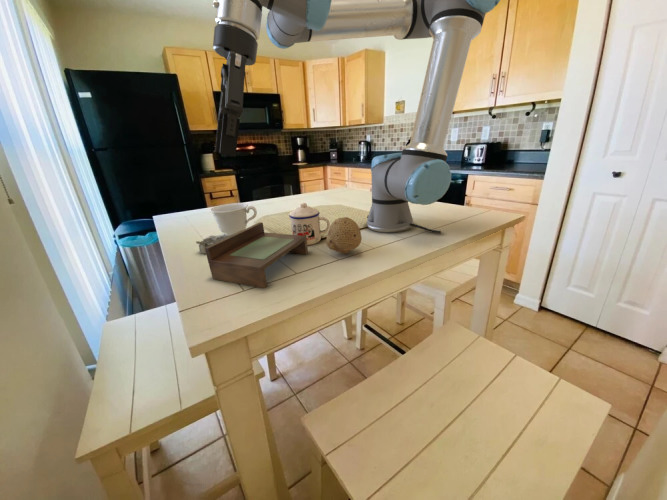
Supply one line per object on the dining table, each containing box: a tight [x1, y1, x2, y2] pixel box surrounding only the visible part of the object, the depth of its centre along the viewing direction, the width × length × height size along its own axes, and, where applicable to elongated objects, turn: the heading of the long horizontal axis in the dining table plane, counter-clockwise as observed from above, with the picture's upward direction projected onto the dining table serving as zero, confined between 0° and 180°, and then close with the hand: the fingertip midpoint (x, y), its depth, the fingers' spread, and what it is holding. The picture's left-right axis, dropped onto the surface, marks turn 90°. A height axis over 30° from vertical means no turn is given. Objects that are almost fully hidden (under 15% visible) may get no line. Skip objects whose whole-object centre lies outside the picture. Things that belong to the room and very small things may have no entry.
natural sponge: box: [325, 216, 362, 255], centre depth 71 cm, size 9×9×10 cm
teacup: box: [209, 202, 258, 235], centre depth 92 cm, size 12×15×10 cm
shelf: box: [205, 221, 309, 289], centre depth 68 cm, size 15×20×8 cm
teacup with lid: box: [288, 202, 331, 246], centre depth 82 cm, size 12×9×12 cm
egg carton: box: [195, 234, 233, 255], centre depth 82 cm, size 11×8×4 cm
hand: (224, 153), depth 55 cm, fingers open, 13 cm apart
